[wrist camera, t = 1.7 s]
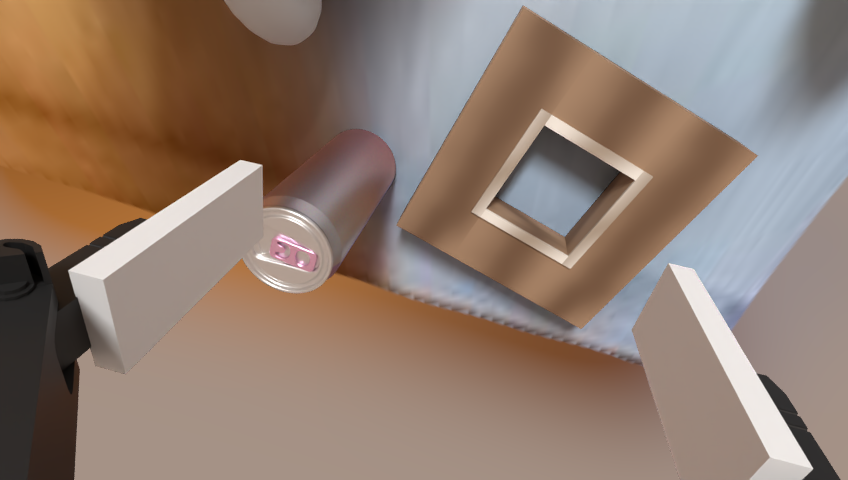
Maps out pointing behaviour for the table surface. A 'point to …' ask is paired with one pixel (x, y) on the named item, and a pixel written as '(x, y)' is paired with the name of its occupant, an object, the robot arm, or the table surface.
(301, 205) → the beverage can
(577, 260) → the board
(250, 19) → the donut
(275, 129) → the table surface
